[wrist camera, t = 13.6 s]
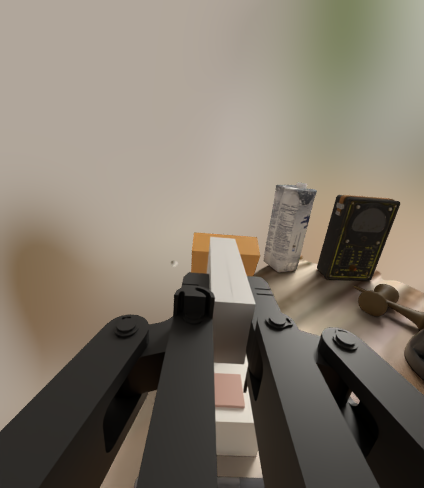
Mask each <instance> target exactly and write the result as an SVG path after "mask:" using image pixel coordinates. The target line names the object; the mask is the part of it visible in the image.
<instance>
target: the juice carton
mask: <svg viewBox="0 0 424 488" xmlns="http://www.w3.org/2000/svg"><path fill="white" fill-rule="evenodd" d="M306 187H307V184H305V183H300V182H297V185H296V186H293V185H276V191H275V199H274V204H273V209H272V215H271V221H270V226H269V232H268V237H267V242H266V248H265V254H264V261H265V262H266V263H267V264H268V265H270V266H271V267H272V268H273V269H274V270H276V271H277V272H287V271H295V270H296V269H297V266H298V263H299V259H300V255H301V251H302V247H303V242H304V238H305V234H306V229H307V226H308V222H309V218H310V214H311V210H312V205H313V201H314V198H315V195H316V192H317V191H316V190H313V189H306Z"/></svg>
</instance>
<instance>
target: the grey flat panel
mask: <svg viewBox="0 0 424 488" xmlns="http://www.w3.org/2000/svg"><path fill="white" fill-rule="evenodd" d="M137 481H138V478H137V479H136V481H135V485H134V488H136V486H137ZM217 488H265V487H264V481H263V478H240V477H217Z"/></svg>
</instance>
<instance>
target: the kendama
mask: <svg viewBox="0 0 424 488" xmlns="http://www.w3.org/2000/svg"><path fill="white" fill-rule="evenodd" d="M353 287H354V288H355V289H357V290H359V291H361V292H363V293H361V295H360V296H359V300H358V303H359V306H360V308H361V309H362V310H363V311H365V312H366V313H368V314H370V315H372V316H381V315H383V314H384V313H385V312H386V311H387V307H388V306H389V307H390V308H392V309H394V310H395V311H397V312H399V313H400V314H402V315H403V316H405V317H406V318H408V319H409V320H411V321H412V322H413V323H414V324H416V326H417V327H418V329H419V330H422V329H424V312H419V311H416V310H413V309H410V308H407V307H404V306H401V305H399V304H396V302H397V301H398V299H399V293H398V291H397V290H396V289H395V288H394V287H392V286H390V285H387V284H379V285H377V286H376V287H375V289H374V291H367V290H364V289H362V288H360V287H358V286H353Z"/></svg>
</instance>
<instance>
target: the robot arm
mask: <svg viewBox="0 0 424 488" xmlns="http://www.w3.org/2000/svg"><path fill="white" fill-rule="evenodd" d="M246 356H247V361H248V367H247V372H246V377H245V382H244V389H243V393H246V392H247V387H248V391H249V397H250V403H251V409H252V415H253V421H254V427H255V433H256V439H257V445H258V451H259V457H260V463H261V469H262V475H263V481H264V487H265V488H424V395H423V394H422V393H421V392H419V391H418V390H417V389H416V388H415V387H414V386H413V385H412V384H411V383H409V382H408V381H407V380H406V379H405V378H404V377H403V376H402V375H400V374H399V373H398V372H397V371H396V370H395V369H394V368H393V367H391V366H390V365H389V364H388V363H387V362H386V361H385V360H384V359H383V358H381V357H380V356H379V355H378V354H377V353H376V352H375V351H374V350H372V349H371V348H370V347H369V346H368V345H367V344H366V343H365V342H363V341H362V340H361V339H360V338H359V337H357V336H356V335H354V334H353V333H351V332H349V331H347V330H344V329H341V328H336V327H329V328H326V329H324V331H323V332H322V334H321V336H317V335H314V334H310V333H307V332H304V331H301V330H299V329H298V327H297V325H296V324H295V322H294V321H293V320H292V319H291V318H290V317H288V316H287V315H285V314H283V313H281V311H280V308H279V306H278V304H277V302H276V300H275V298H274V296H273V293H272V291H271V289H270V287H269V285H268V283H267V282H266V281H265V280H264V279H263V278H261V277H253V276H247V275H246V272H245V269H244V266H243V263H242V259H241V256H240V253H239V250H238V247H237V244H236V240H235V239H231V238H219V237H210V245H209V255H208V265H207V274H205V273H192V272H189V273H188V274H187V275H185V276H184V278H183V283H182V287H181V288H180V289H179V290H177V291H176V293H175V295H174V312H173V317H171V318H170V319H168V320H166V321H164V322H161V323H156V324H148V322H147V320H146V319H145V318H143V317H141V316H138V315H124V316H120V317H117V318H115V319H113V320H111V321H110V322H109V323H107V324H106V325H105V326H104V327H103V328H102V329H101V330H100V332H98V333H97V335H96V336H94V337H93V339H91V341H90V342H89V343H88V344H87V345H86V346H85V347H84V348H83V349H82V350H81V351H80V352H79V353H78V354H77V355H76V356H75V357H74V358H73V359H72V360H71V361H70V362H69V363H68V364H67V365H66V366H65V367H64V368H63V369H62V370H61V371H60V372H59V373H58V374H57V375H56V376H55V377H54V378H53V379H52V380H51V381H50V382H49V383H48V384H47V385H46V386H45V387H44V388H43V389H42V390H41V391H40V392H39V393H38V394H37V395H36V396H35V397H34V398H33V399H32V400H31V401H30V402H29V403H28V404H27V405H26V406H25V407H24V408H23V409H22V410H21V411H20V412H19V413H18V414H17V415H16V416H15V418H13V419H12V420H11V421H10V422H9V423H8V424H7V425H6V426H5V427H4V428H3V429H2V430H1V432H0V488H100V486H101V484H102V482H103V480H104V478H105V476H106V474H107V473H108V471H109V469H110V467H111V465H112V463H113V461H114V459H115V457H116V455H117V453H118V451H119V449H120V447H121V445H122V443H123V441H124V440H125V438H126V436H127V434H128V432H129V430H130V428H131V426H132V424H133V422H134V420H135V418H136V416H137V414H138V412H139V410H140V408H141V406H142V405H143V403H144V401H145V399H146V397H147V394H148V392H150V391H154V390H157V393H156V398H155V403H154V407H153V412H152V417H151V421H150V426H149V430H148V435H147V440H146V444H145V449H144V453H143V458H142V463H141V467H140V472H139V477H138V481H137V486H136V488H217V454H216V419H215V384H214V363H227V364H244V363H245V357H246ZM405 357H406V359H407V361H408V363H409V364H410V366H411V367H412V368H413V370H414V371H415V372H416V373H417V374H418V375H419V376H420V377H421V378H422V379H423V380H424V329H422V330H421V331H420V332H418V333H417V334H416V335H414V336H413V337H412V338H411V339H410V340H409V342H408V344H407V346H406V348H405ZM352 392H353V393H354V394H355V395H356V396H357V398H358V399H359V400H360V402H359V404H357V403H355V402H354V401H353V400H352V399H351V397H350V395H351V393H352Z"/></svg>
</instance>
